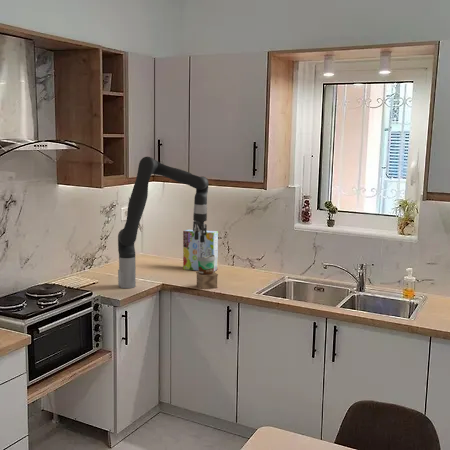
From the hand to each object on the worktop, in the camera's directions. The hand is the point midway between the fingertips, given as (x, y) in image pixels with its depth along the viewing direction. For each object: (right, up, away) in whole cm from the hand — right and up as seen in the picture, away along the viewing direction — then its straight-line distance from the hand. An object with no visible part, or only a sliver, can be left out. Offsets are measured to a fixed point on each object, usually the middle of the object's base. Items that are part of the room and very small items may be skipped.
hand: (199, 241), depth 319 cm
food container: (+5, -19, +5) cm, 20 cm away
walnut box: (+4, -27, +7) cm, 28 cm away
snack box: (-2, -20, +50) cm, 54 cm away
